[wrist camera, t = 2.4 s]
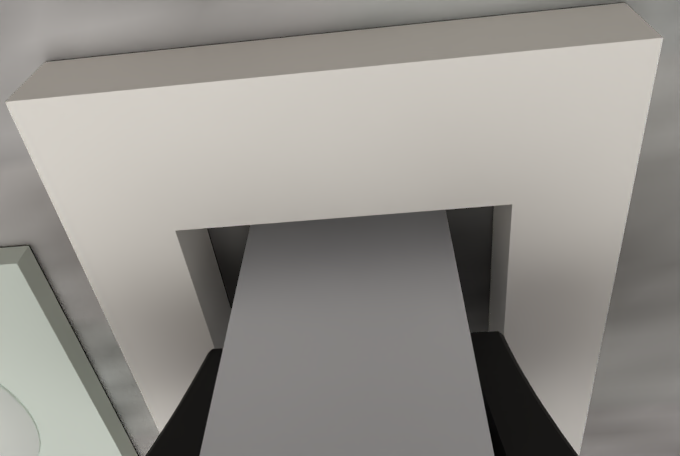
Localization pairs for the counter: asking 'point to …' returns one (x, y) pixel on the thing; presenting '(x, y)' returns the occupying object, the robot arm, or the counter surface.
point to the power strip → (354, 170)
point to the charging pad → (47, 374)
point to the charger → (348, 344)
